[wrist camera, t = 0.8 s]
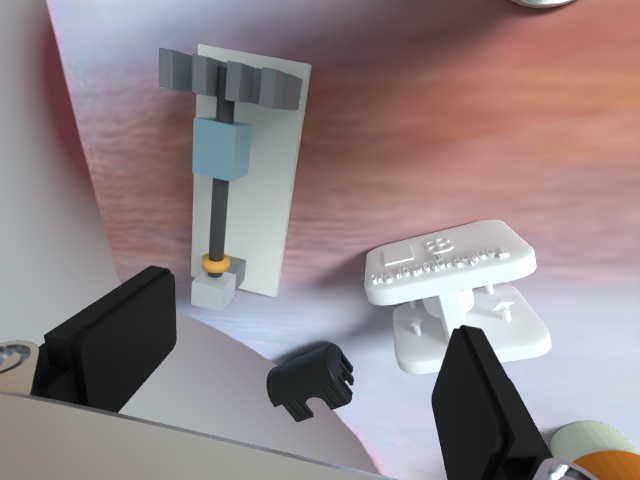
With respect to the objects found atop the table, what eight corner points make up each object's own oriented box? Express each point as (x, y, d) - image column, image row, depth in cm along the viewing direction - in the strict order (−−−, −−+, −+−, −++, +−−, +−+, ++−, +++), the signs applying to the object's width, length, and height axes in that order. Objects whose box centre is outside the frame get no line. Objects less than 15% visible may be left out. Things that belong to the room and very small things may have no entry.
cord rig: (203, 45, 36) (148, 24, 27) (311, 65, 35) (290, 50, 26) (195, 272, 46) (154, 308, 38) (277, 293, 45) (254, 334, 37)
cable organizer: (388, 314, 44) (391, 380, 33) (365, 243, 41) (360, 289, 30) (511, 290, 40) (560, 356, 29) (496, 209, 37) (544, 249, 26)
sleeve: (214, 116, 33) (193, 117, 29) (252, 124, 33) (236, 126, 29) (211, 166, 35) (192, 173, 31) (247, 174, 35) (232, 181, 31)
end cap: (330, 330, 46) (323, 364, 40) (357, 367, 48) (354, 405, 41) (275, 355, 49) (260, 391, 43) (301, 389, 51) (290, 428, 45)
